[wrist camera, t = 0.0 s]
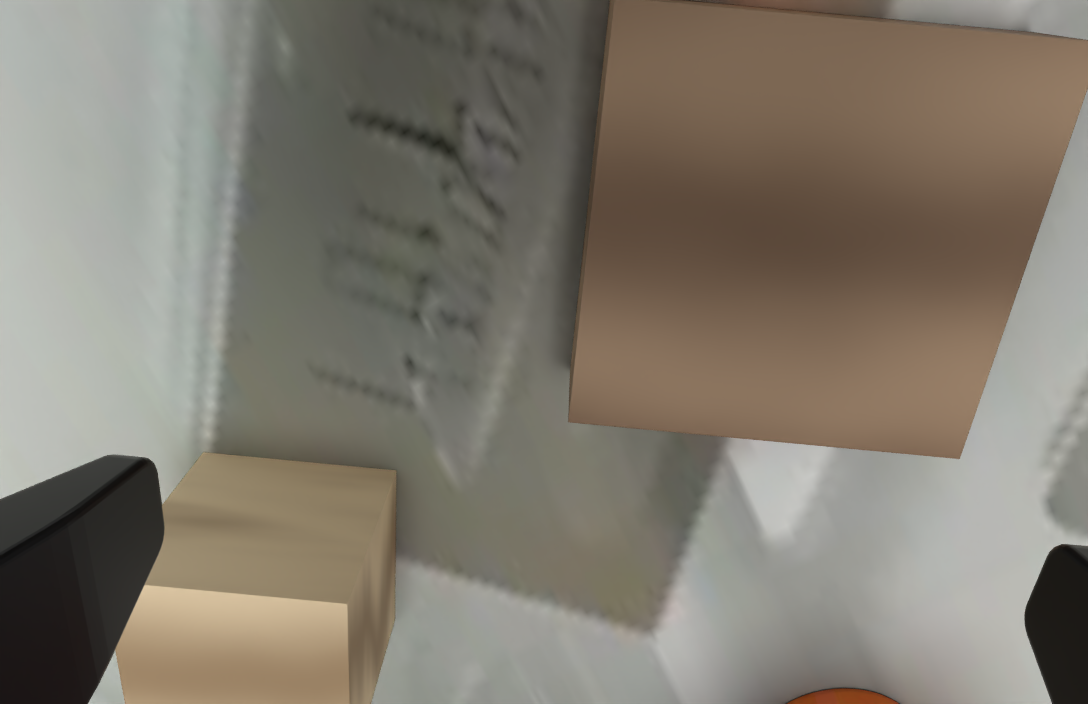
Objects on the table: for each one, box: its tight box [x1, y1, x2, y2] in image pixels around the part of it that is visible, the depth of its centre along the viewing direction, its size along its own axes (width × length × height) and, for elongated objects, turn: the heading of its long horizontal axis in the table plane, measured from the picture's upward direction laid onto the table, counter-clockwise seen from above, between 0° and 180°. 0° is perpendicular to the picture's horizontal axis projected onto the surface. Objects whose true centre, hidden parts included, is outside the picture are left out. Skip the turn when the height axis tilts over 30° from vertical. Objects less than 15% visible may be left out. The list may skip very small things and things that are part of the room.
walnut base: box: [568, 0, 1088, 459], centre depth 20 cm, size 10×10×3 cm
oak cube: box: [115, 452, 396, 704], centre depth 24 cm, size 6×6×6 cm
